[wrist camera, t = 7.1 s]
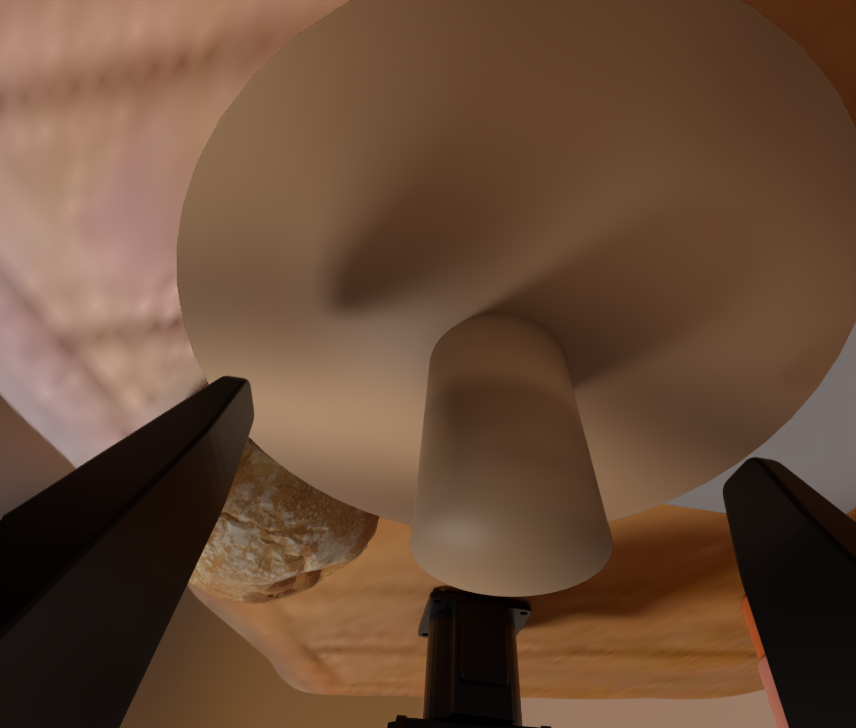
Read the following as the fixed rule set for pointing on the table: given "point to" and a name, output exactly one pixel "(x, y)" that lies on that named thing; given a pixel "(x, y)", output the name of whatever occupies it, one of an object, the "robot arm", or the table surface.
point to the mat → (808, 442)
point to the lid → (523, 264)
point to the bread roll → (277, 535)
